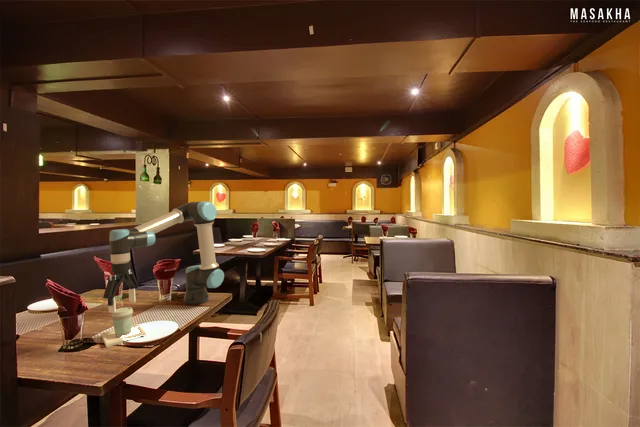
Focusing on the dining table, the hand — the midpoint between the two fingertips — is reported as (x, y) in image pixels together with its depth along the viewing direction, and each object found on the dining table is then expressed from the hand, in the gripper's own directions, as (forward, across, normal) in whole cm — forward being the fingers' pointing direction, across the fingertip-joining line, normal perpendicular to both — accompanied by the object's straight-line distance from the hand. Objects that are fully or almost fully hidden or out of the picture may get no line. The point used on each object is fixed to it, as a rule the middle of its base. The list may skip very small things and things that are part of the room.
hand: (122, 306), depth 135 cm
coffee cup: (+13, 0, 0) cm, 13 cm away
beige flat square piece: (+14, 0, 0) cm, 14 cm away
